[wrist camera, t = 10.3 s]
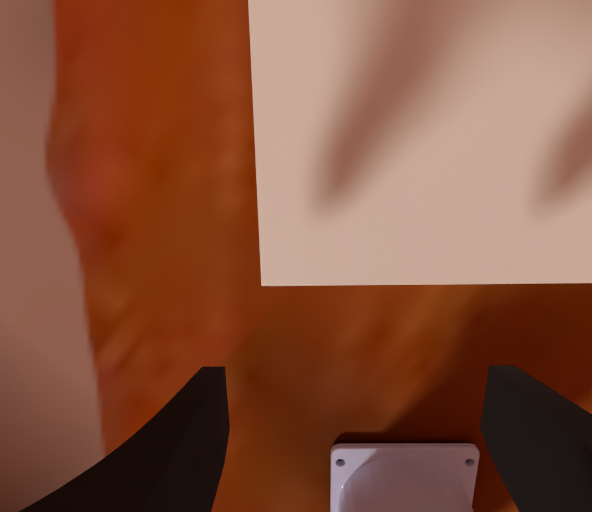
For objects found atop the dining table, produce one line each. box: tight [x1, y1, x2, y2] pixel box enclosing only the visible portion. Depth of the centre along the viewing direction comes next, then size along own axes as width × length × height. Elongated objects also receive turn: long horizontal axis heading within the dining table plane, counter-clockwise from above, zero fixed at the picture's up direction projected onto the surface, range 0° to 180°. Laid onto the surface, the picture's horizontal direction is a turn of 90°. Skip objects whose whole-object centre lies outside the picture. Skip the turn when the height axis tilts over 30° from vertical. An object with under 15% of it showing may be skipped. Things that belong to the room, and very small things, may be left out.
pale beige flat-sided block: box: [248, 0, 592, 286], centre depth 17 cm, size 10×22×4 cm, turn 91°
